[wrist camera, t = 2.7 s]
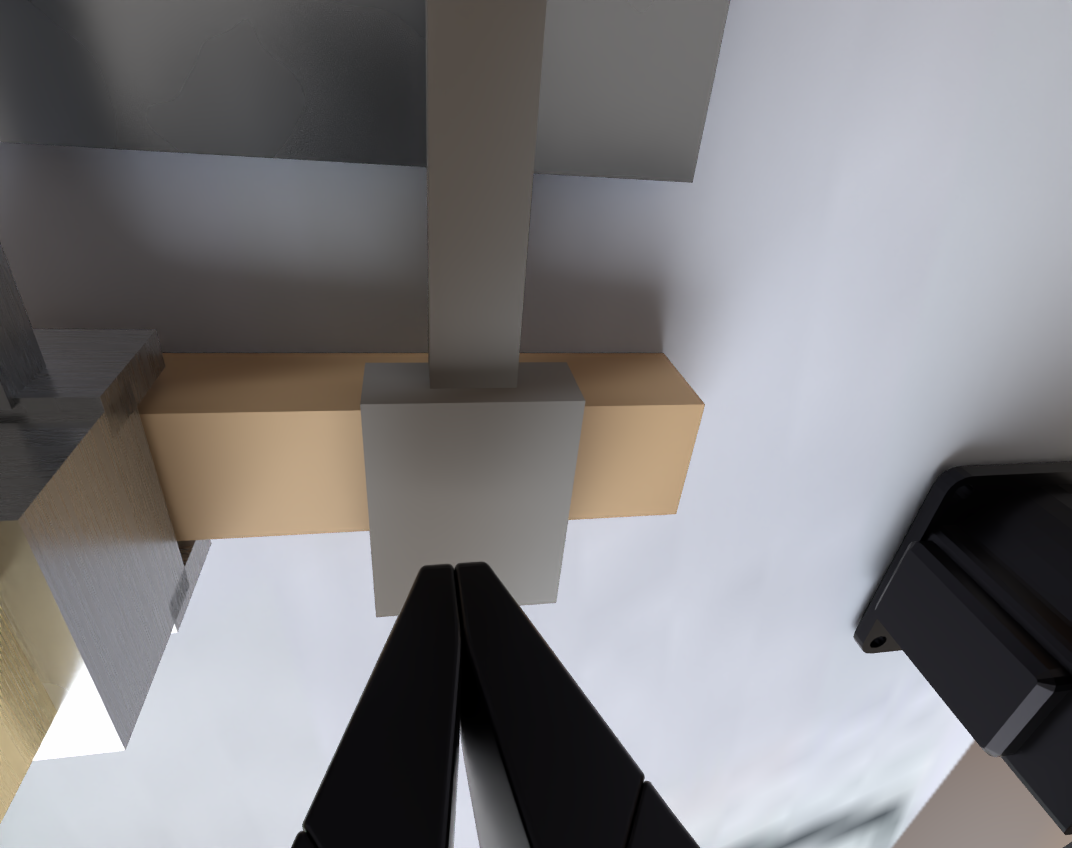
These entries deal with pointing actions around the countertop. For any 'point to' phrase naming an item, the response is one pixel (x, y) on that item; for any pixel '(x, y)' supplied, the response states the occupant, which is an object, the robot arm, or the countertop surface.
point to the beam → (436, 377)
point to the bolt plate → (348, 80)
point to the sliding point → (79, 540)
